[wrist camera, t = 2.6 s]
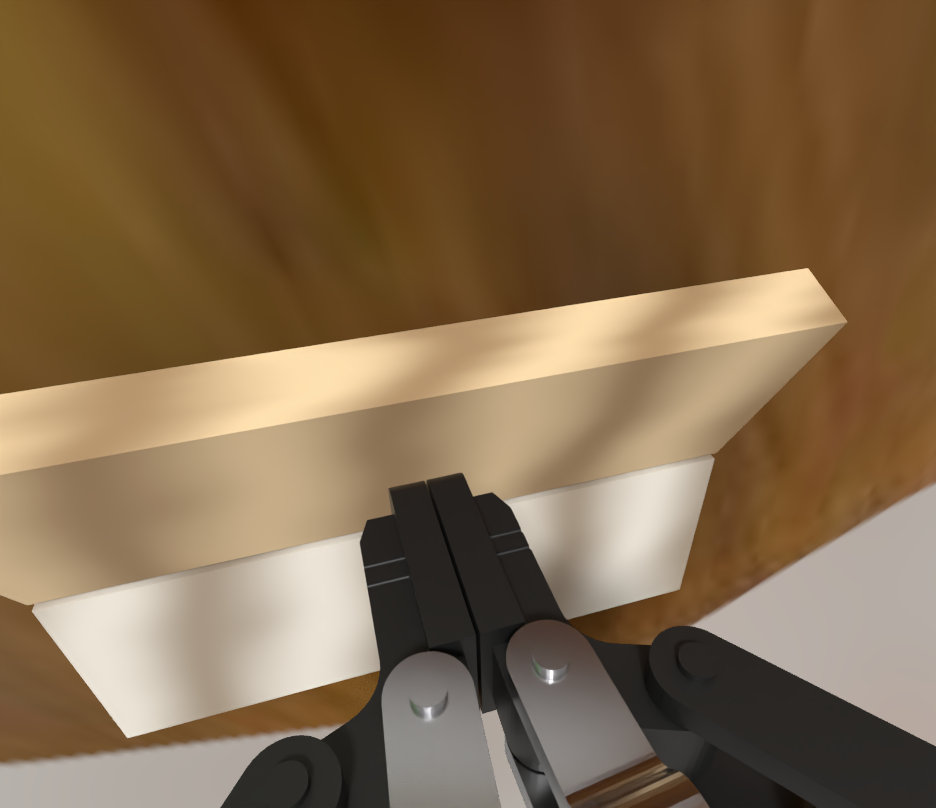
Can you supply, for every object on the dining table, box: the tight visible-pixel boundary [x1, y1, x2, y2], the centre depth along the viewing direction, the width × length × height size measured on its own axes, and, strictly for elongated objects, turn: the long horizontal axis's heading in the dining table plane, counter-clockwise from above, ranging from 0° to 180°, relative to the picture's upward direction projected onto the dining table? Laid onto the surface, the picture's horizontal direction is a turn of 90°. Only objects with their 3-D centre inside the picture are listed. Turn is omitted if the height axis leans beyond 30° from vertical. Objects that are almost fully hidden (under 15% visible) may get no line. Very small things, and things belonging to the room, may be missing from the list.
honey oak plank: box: [0, 268, 847, 605], centre depth 17 cm, size 24×8×2 cm, turn 93°
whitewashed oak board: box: [32, 454, 714, 738], centre depth 23 cm, size 24×8×2 cm, turn 93°
